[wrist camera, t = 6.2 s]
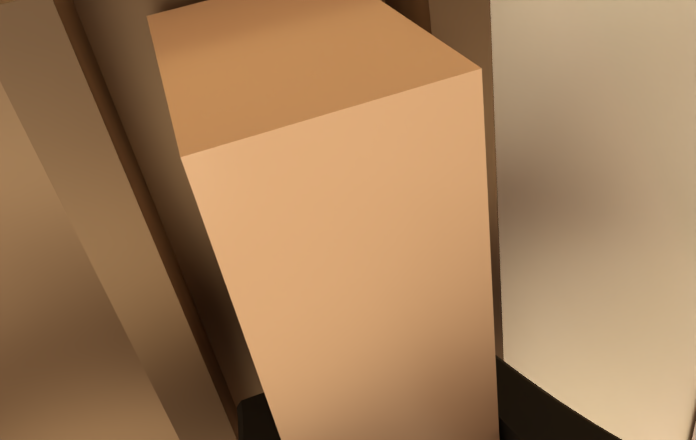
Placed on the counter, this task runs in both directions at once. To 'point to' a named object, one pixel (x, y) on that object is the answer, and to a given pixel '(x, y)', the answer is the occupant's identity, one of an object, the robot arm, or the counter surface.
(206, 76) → the clay bar
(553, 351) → the counter surface
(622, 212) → the counter surface
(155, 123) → the drying rack
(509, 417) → the robot arm
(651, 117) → the counter surface
